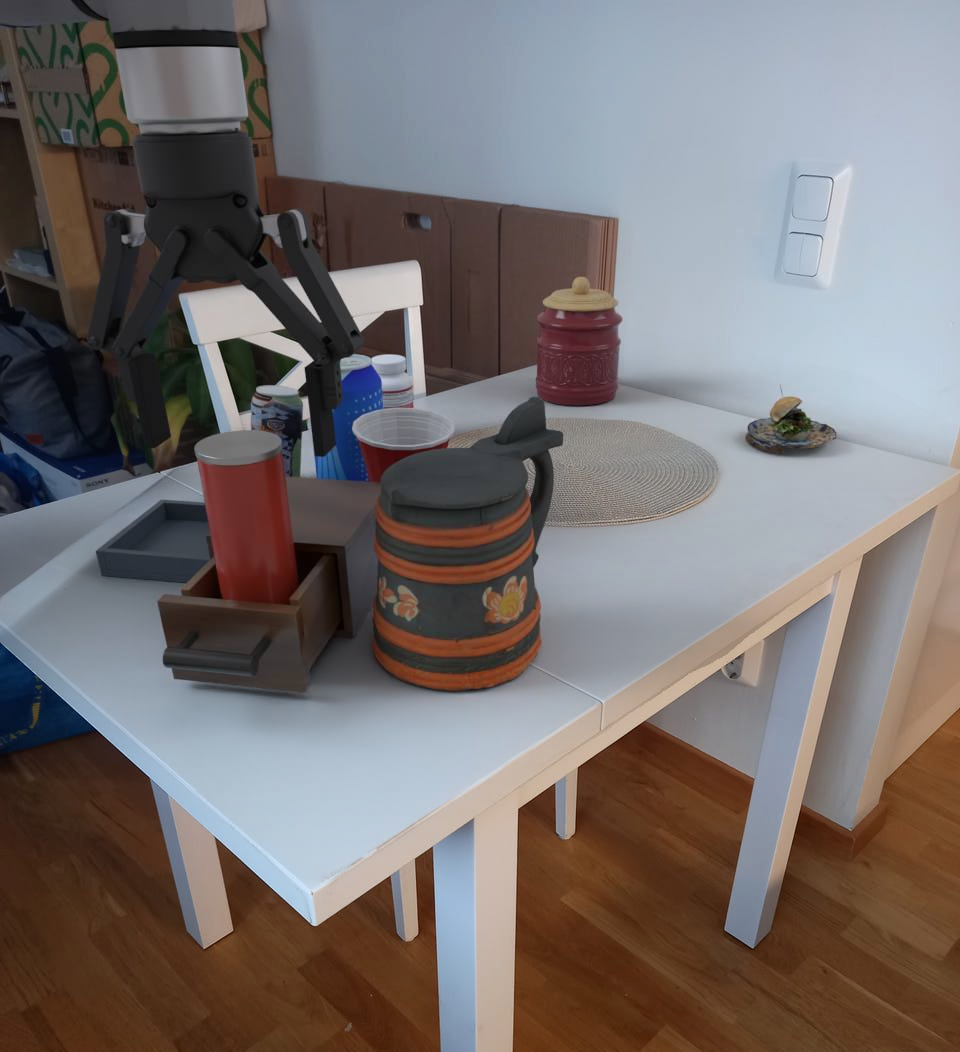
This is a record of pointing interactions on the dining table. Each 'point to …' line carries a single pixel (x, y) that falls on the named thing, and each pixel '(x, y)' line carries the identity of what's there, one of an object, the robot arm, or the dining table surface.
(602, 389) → the kitchen canister
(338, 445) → the beer can
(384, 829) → the dining table surface
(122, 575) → the tray
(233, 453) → the tin
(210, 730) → the dining table surface
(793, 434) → the burger
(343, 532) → the cabinet
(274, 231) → the robot arm
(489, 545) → the beer stein
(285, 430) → the beverage can
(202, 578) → the drawer
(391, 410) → the plastic cup
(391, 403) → the pill bottle
